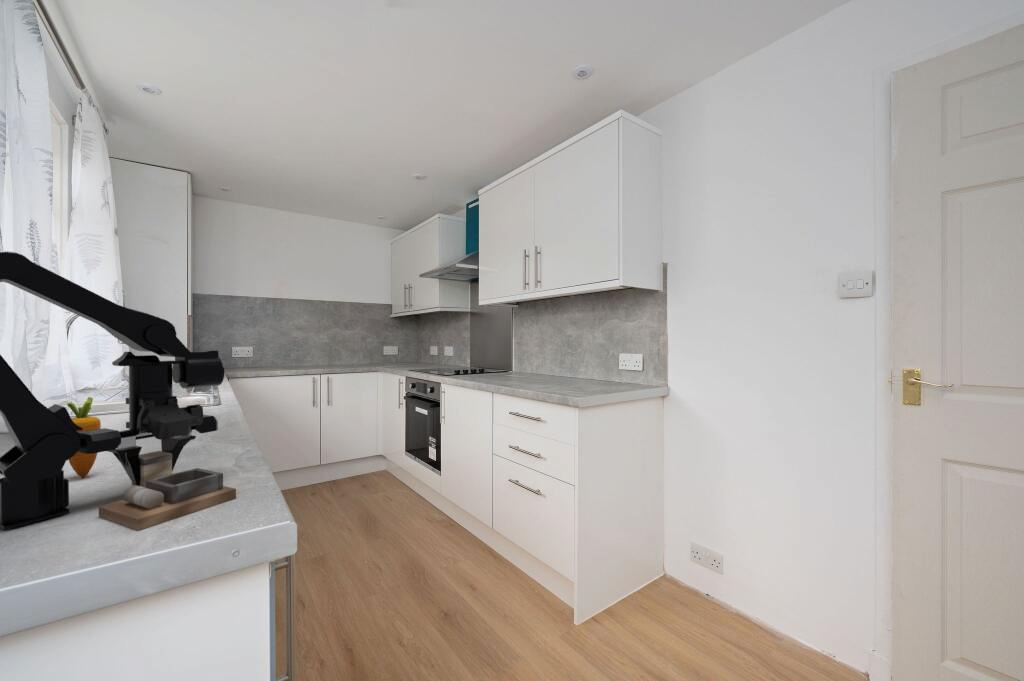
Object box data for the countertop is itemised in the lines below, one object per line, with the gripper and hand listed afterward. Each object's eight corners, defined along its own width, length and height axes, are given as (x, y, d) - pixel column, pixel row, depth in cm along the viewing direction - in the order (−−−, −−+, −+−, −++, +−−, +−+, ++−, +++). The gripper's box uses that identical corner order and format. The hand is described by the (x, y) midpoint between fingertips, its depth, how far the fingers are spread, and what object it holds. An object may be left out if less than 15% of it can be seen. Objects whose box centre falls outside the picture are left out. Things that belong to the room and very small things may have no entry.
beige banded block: (144, 495, 71) (143, 459, 71) (131, 491, 73) (131, 456, 73) (172, 487, 75) (172, 453, 75) (159, 484, 77) (159, 450, 77)
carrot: (66, 483, 77) (65, 400, 77) (62, 478, 80) (61, 398, 80) (104, 476, 81) (103, 397, 81) (98, 471, 84) (97, 395, 84)
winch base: (138, 530, 58) (137, 500, 58) (98, 516, 62) (98, 489, 62) (236, 498, 69) (235, 473, 69) (196, 488, 74) (196, 465, 74)
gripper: (104, 400, 62) (105, 509, 62) (235, 387, 79) (236, 472, 79) (69, 397, 67) (70, 497, 67) (200, 385, 84) (200, 465, 84)
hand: (152, 481), depth 74 cm, fingers closed on beige banded block, 4 cm apart
